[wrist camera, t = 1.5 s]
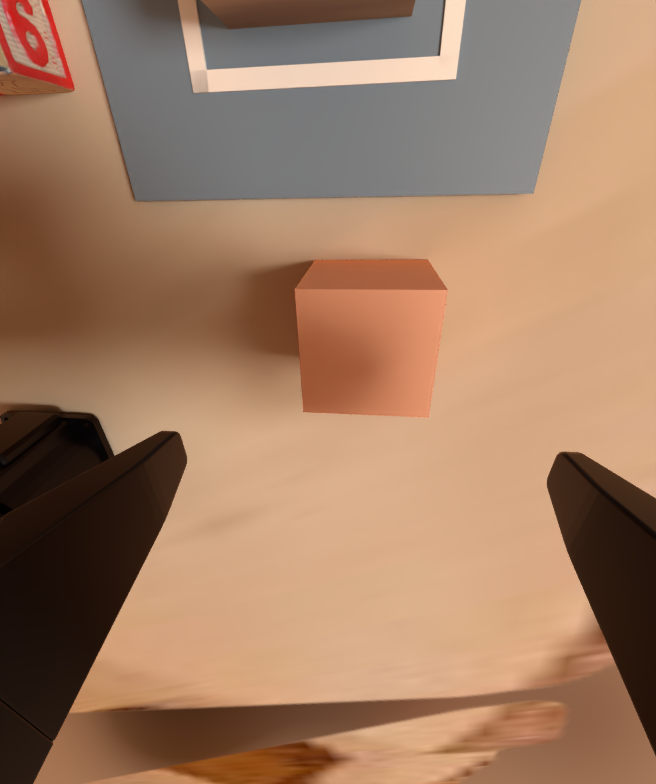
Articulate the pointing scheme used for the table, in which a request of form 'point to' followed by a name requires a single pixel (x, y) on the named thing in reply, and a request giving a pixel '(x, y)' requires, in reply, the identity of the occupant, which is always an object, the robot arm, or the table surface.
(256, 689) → the table surface
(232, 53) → the board
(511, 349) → the table surface
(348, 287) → the terracotta cube
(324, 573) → the table surface
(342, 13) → the walnut base block
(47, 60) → the stack of blocks
